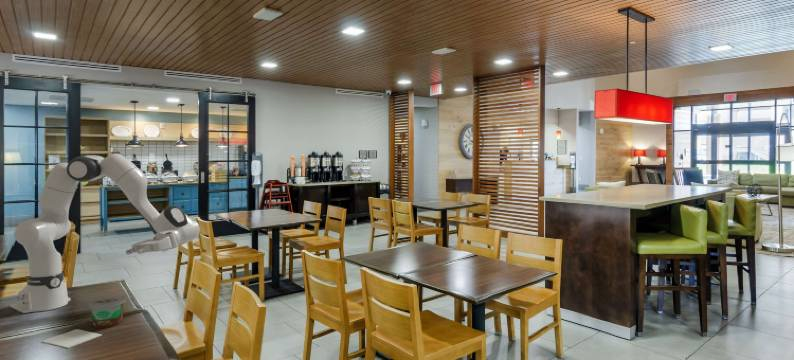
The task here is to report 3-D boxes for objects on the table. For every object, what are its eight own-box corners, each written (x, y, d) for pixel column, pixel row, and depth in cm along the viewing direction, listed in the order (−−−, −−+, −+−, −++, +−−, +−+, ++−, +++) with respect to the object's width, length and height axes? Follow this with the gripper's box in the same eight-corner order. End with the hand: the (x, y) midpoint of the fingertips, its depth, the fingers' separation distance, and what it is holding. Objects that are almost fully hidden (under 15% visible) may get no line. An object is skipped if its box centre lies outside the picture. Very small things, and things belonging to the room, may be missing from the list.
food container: (87, 331, 170) (86, 305, 170) (89, 326, 176) (88, 300, 175) (125, 326, 176) (124, 300, 175) (126, 320, 181) (125, 296, 181)
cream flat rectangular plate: (41, 342, 161) (41, 341, 161) (76, 329, 172) (76, 329, 172) (68, 348, 156) (67, 347, 156) (102, 335, 167) (102, 334, 167)
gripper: (149, 234, 203) (117, 245, 191) (175, 232, 191) (143, 244, 180) (153, 248, 203) (122, 260, 192) (179, 246, 192) (148, 259, 181)
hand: (132, 252), depth 186 cm, fingers open, 8 cm apart
